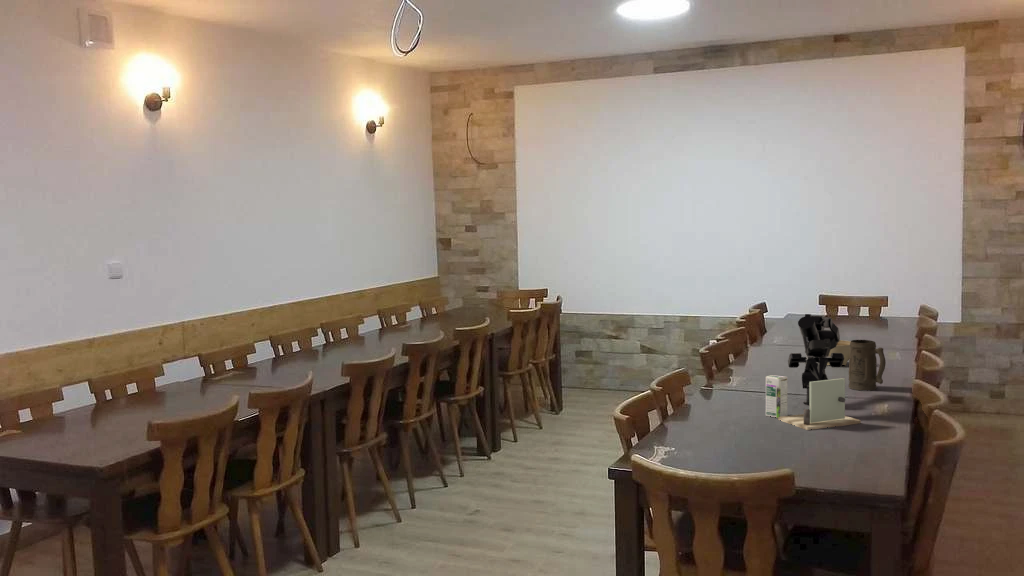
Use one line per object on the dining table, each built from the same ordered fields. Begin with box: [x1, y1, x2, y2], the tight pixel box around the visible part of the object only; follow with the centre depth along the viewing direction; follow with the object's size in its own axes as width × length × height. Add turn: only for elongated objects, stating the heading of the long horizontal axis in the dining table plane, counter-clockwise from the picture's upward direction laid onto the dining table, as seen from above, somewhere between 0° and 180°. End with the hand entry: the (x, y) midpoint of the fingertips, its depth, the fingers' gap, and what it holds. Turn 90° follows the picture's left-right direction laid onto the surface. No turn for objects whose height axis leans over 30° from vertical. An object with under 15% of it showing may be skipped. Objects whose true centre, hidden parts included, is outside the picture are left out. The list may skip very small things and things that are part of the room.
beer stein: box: [848, 339, 886, 392], centre depth 341 cm, size 15×11×20 cm
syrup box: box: [765, 374, 788, 419], centre depth 301 cm, size 6×6×14 cm
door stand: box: [777, 408, 862, 431], centre depth 291 cm, size 16×22×6 cm
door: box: [808, 377, 846, 423], centre depth 286 cm, size 3×14×14 cm, turn 109°
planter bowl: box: [827, 339, 852, 366], centre depth 397 cm, size 16×16×11 cm
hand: (819, 379), depth 297 cm, fingers closed
